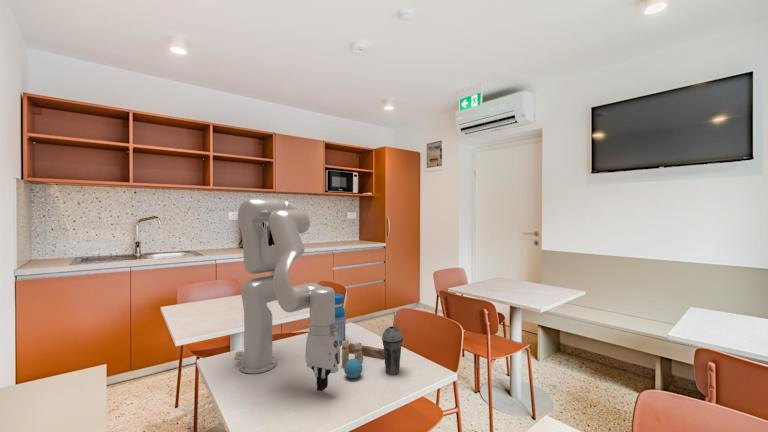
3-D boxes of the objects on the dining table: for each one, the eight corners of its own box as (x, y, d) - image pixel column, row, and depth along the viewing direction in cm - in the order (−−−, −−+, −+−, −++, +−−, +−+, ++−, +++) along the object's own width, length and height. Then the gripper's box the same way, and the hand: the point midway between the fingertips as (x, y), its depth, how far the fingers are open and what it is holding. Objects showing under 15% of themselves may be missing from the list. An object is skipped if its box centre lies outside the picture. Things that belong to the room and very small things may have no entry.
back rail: (387, 357, 126) (387, 349, 126) (385, 359, 125) (385, 351, 125) (350, 350, 133) (350, 343, 133) (347, 352, 131) (347, 344, 131)
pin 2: (353, 370, 116) (353, 345, 116) (355, 367, 118) (355, 342, 118) (360, 371, 115) (360, 345, 115) (362, 368, 118) (362, 342, 118)
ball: (346, 371, 115) (337, 372, 110) (354, 355, 116) (346, 355, 111) (360, 381, 112) (351, 382, 107) (368, 364, 113) (360, 364, 108)
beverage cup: (377, 372, 115) (377, 314, 115) (391, 365, 120) (391, 310, 120) (393, 379, 110) (393, 319, 110) (407, 371, 115) (407, 314, 115)
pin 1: (341, 368, 118) (341, 342, 118) (342, 365, 120) (342, 340, 120) (347, 368, 117) (348, 343, 117) (349, 365, 120) (349, 340, 120)
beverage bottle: (336, 348, 135) (336, 299, 135) (321, 344, 140) (321, 296, 140) (349, 341, 142) (349, 295, 142) (334, 337, 147) (334, 292, 147)
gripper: (349, 328, 101) (349, 388, 101) (309, 321, 107) (309, 378, 108) (336, 336, 95) (336, 400, 95) (294, 328, 101) (294, 389, 101)
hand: (322, 388), depth 101 cm, fingers closed
